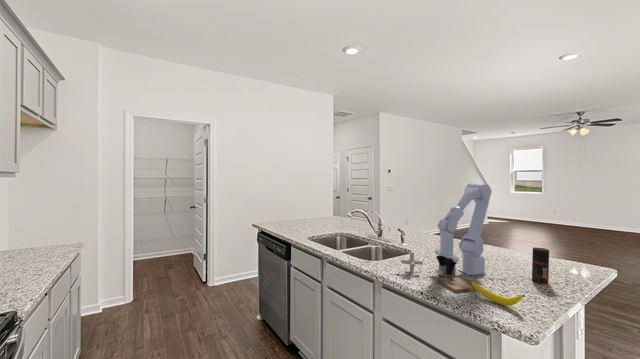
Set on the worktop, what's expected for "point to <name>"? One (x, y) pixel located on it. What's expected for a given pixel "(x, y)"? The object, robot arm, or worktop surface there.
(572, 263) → the worktop surface
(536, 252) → the deodorant
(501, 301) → the banana
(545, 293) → the worktop surface
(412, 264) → the pipe connector
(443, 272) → the plug
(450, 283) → the board
